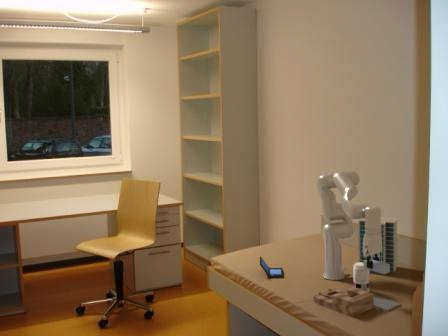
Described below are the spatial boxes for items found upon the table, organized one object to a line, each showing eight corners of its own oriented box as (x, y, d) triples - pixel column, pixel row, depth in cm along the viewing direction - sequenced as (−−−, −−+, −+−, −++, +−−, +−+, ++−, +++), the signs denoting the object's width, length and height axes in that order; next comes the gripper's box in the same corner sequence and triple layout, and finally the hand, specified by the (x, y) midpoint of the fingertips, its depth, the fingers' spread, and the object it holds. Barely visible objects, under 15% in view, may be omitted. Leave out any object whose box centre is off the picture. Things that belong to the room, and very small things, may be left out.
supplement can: (350, 290, 256) (350, 263, 255) (362, 287, 260) (362, 260, 258) (360, 295, 249) (360, 267, 247) (372, 292, 252) (372, 264, 251)
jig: (313, 302, 243) (313, 288, 242) (334, 294, 252) (334, 281, 252) (352, 317, 224) (352, 302, 223) (373, 307, 233) (373, 293, 232)
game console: (283, 278, 280) (283, 263, 279) (260, 278, 281) (259, 263, 280) (282, 269, 295) (282, 255, 294) (260, 270, 296) (259, 255, 295)
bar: (363, 268, 241) (363, 260, 240) (369, 266, 244) (369, 258, 243) (384, 274, 231) (384, 266, 231) (389, 272, 234) (389, 264, 234)
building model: (357, 271, 285) (357, 222, 282) (362, 263, 300) (361, 216, 297) (393, 275, 277) (393, 224, 273) (396, 266, 292) (396, 218, 288)
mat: (369, 295, 249) (369, 293, 249) (400, 305, 235) (400, 303, 235) (356, 300, 243) (356, 299, 242) (387, 311, 228) (387, 310, 228)
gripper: (376, 227, 245) (377, 261, 247) (355, 232, 235) (356, 269, 237) (389, 229, 239) (389, 265, 241) (368, 235, 229) (368, 272, 231)
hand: (373, 266), depth 239 cm, fingers closed on bar, 4 cm apart
